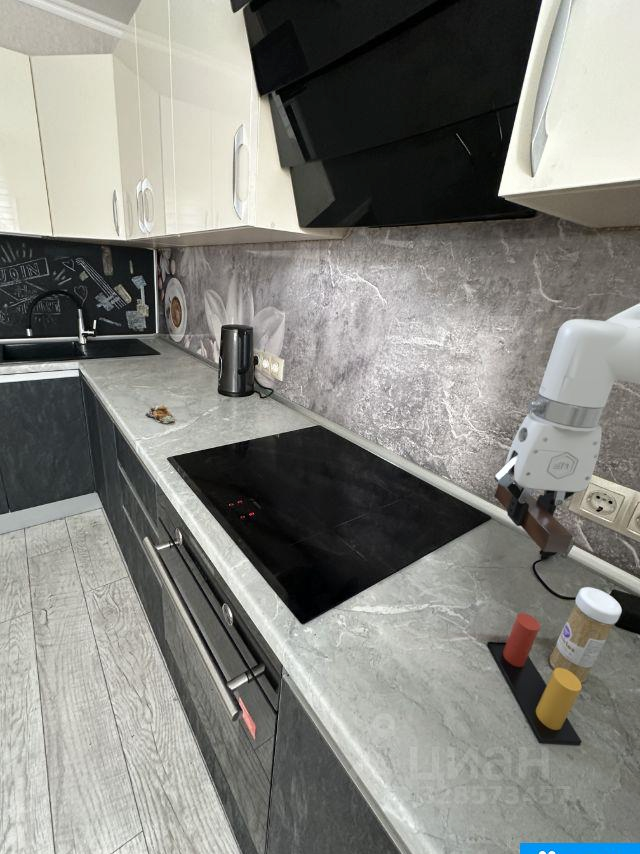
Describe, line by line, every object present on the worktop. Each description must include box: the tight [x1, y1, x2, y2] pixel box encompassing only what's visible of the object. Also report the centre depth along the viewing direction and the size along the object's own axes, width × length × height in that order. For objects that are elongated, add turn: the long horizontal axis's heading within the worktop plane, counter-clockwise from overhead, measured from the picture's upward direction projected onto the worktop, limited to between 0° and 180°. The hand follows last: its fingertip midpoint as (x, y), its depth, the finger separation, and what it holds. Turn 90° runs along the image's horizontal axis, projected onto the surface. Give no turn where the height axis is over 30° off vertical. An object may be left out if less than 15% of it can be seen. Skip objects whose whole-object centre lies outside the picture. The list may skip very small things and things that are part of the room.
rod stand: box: [486, 612, 583, 746], centre depth 51 cm, size 5×13×8 cm, turn 179°
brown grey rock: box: [145, 405, 176, 424], centre depth 133 cm, size 7×12×4 cm, turn 49°
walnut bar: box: [494, 482, 574, 554], centre depth 60 cm, size 14×3×3 cm, turn 178°
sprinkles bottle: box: [548, 586, 623, 684], centre depth 53 cm, size 5×5×13 cm
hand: (527, 520), depth 60 cm, fingers closed on walnut bar, 3 cm apart
